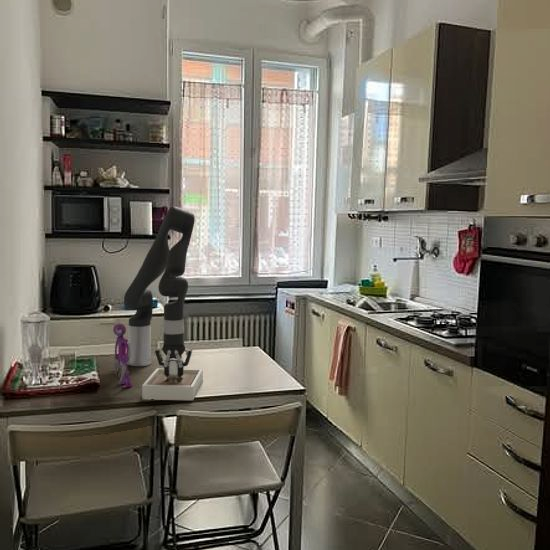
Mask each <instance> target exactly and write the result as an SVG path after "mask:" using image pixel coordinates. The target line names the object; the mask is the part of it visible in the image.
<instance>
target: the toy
mask: <svg viewBox="0 0 550 550" xmlns="http://www.w3.org/2000/svg"><path fill="white" fill-rule="evenodd" d="M112 332H113V333H114V335H115V336H117V337H116V341H115V344H114V359H113V360H112V362H113V363H112V364H113V369H114V374H115V375H116V376H115V377H116V378H117V379H118V380H119V382H118V383H117V384H116V386H122V387H121V389H128V388H127V387H129V388H132V387H133V384H132V382H131V379H130V375H129V373H130V371H129V370H128V361H129V357H128V352H129V346H128V343H129V339H127V338H124V335H125V334H126V333H127V328H126V326H125V324H123V323H116V324H113V330H112ZM120 362H121V363H122V365H121V363H120ZM117 376H118V377H117ZM121 384H123V385H121Z"/></svg>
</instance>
